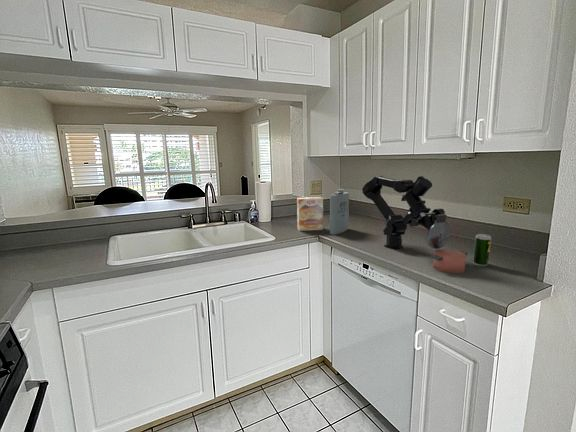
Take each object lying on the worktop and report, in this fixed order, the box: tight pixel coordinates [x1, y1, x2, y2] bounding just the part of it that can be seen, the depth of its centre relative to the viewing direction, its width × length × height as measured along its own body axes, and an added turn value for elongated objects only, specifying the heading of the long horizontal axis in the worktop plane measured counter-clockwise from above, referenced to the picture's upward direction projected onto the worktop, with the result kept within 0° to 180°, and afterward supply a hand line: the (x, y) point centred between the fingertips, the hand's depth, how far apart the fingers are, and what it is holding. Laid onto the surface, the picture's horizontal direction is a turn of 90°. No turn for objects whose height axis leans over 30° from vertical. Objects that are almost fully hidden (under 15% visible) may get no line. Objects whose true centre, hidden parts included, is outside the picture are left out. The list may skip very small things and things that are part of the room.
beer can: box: [472, 233, 492, 267], centre depth 124 cm, size 5×5×12 cm
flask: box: [329, 188, 350, 235], centre depth 181 cm, size 17×5×25 cm, turn 141°
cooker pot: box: [431, 248, 468, 274], centre depth 122 cm, size 12×15×6 cm
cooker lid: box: [426, 213, 451, 250], centre depth 125 cm, size 14×11×1 cm
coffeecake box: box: [296, 196, 324, 232], centre depth 189 cm, size 15×7×20 cm, turn 97°
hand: (434, 232), depth 127 cm, fingers closed
